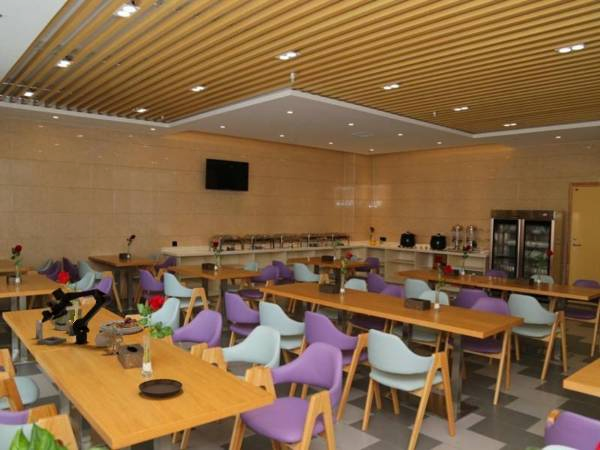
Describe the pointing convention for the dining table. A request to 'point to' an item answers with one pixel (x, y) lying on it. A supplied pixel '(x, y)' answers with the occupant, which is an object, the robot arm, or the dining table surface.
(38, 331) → the steel roller
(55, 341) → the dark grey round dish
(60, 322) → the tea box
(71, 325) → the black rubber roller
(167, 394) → the plant saucer
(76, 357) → the dining table surface
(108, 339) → the flower vase
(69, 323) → the brass bushing
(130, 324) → the bowl
